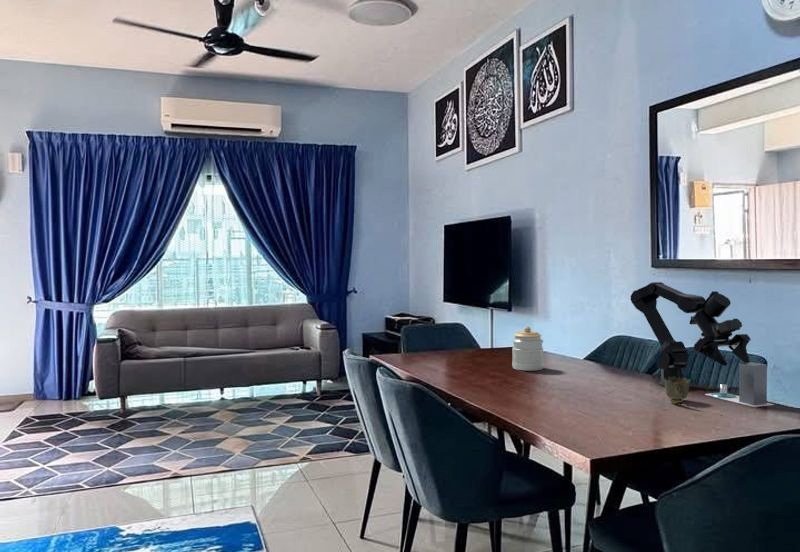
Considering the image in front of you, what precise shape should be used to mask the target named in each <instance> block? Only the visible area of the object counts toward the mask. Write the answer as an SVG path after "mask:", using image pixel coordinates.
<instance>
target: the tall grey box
mask: <svg viewBox="0 0 800 552" xmlns="http://www.w3.org/2000/svg"><path fill="white" fill-rule="evenodd" d="M738 366H739V370H738V374H739V375H738V377H739V378H738V379H739V380H738V381H739V382H738V383H739V384H738V385H739V386H738V388H739V389H738V396H739V402H742V403H746V404H750V405H762V404H767V403H768V399H767V398H768V397H767V395H768V390H767V388H768V365H767V364H764V363H759V362H754V361H752V362H751V361H750V362H748V363H744V362H740V363H738Z"/></svg>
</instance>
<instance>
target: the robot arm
mask: <svg viewBox="0 0 800 552" xmlns="http://www.w3.org/2000/svg"><path fill="white" fill-rule="evenodd" d="M660 297H661V298H663V299H665V300H667V301H669V302H671V303H674V304H675V305H676V306H677V308H678V309H679V310H681V311H682V312H683V313H684V314H694V315H693V316H690V320H689V325H696V326H698V328H699V329H700V330H701V333H700V337H699V339H698V340H697V341H696V342H695V343H694V344H693V349H694V351H695V352H696V353H697V354H700V355H702V356H704V357H706V358H709V359H711V360H712V361H715V362H716V363H718V364H720V365H722V366H724V367H727V365H728V363H727V361H726V358H725V357H724V355H723V354H722V353H721V351H720V349H719V347H728V348H729V349H730V350H731V353H732V354H734V355H735V356H736V357H737V358H738V359H739V360H741V361H742V363H748V362H751V361H750V357H749V353H748V350H747V345H748V344H749V343H750V341H751V337H750V336H749V335H748V334H747V333H737V334H735V335H734V336H733V332H736V331H739V330H741V328H742V327H743V323H742V321H741V320H739V318H733V319H727V320H723V321H722V322H718V320H717V319H716V318H720V317H721V316H722V315H723V314H724V312H725V311H726V310H727V308H729V307H730V306H731V300H730V298H728V296H725V295H724V294H722V293H719V292H718V291H717V290H716V291H711V293H710V294H709V296H708V297H707V298H705V297H704V296H701V295H697V294H689V293H684V292H682V291H680V290H678V289H675V288H673V287H671V286H669V285H667V284H665V283H663V282H661V281H660V282H659V281H656V282H655V281H653V282H650V283H648V284H647V285H645V286H643V287H641V288H638V289H637V290H633V291H632V293H631V294H630V301H631V304H632V305H633V306H634V307H635V310H638V311H639V312H641V313H642V314H643V316H644V317H645V319H646V321H647V322H648V324H649V327H650V328H651V330H652V331H653V334H654V336H655V337H656V339H657V341H658V344H659V345H660V349H659V353H660V357H659V359H658V360H657V361H656V362H655V363H656V364H655V365H656V368H657V369H660V382H658V383H659V384H660V385H661V386H663V387H664V388H665V384H664V378H666V379H668V377H669V376H670V377H671V378H672V377H673V376H675V377H676V378H677V379H678V378H679V377H680V378H681V379H682V378H683V377H684V372H683V370H682V369H686V367H687V364H688V360H689V358H690V357H689V353H688V352H689V350H688V349H687V347H686V346H685V343H684V342H683V341H682V340H680V341H676V340H675V339H674V338H673V336H672V334H671V331H670V329H669V328H668V326H667V325H666V323H665V321H664V320H663V317H662V315H661V314H660V313H659V310H658V308H657V305H658V303H657V302H658V300H657V299H658V298H660ZM732 336H733V337H732ZM729 337H732V338H729Z"/></svg>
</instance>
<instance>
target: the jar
mask: <svg viewBox="0 0 800 552" xmlns="http://www.w3.org/2000/svg"><path fill="white" fill-rule="evenodd" d="M513 336H514V338H513V339H512V340H511V341H512V343H513V345H512V348H511V349H512V362H511V363H512V364H511V366H512V369H514V370H517V371H524V372H525V371H526V372H527V371H528V372H531V371H533V372H534V371H540V370H543V369H544V347H543V343H544V339H542V338H541V337H542V334H540V332H538V331H532V328H531V327H530V326H525V327H524V330H523V331H517V332H516V333H515V334H514V335H513Z"/></svg>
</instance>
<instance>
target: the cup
mask: <svg viewBox="0 0 800 552" xmlns="http://www.w3.org/2000/svg"><path fill="white" fill-rule="evenodd" d="M690 382H691V379H690V378H687V377H684V376H683V378H682V379H681V378H680V377H679V378H678V379H677V378H676V377H675V376H673V377H672V378H671V377H670V376H669V377H668V379H666V378H664V384H665V387H664V390H665V394H666V396H667V397H668V398H669V399H670V403H671V404H672V405H677V406H679V405H682V404H683V402H684V399H686V398H687V397H688V395H689V391H690V389H689V388H690Z"/></svg>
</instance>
